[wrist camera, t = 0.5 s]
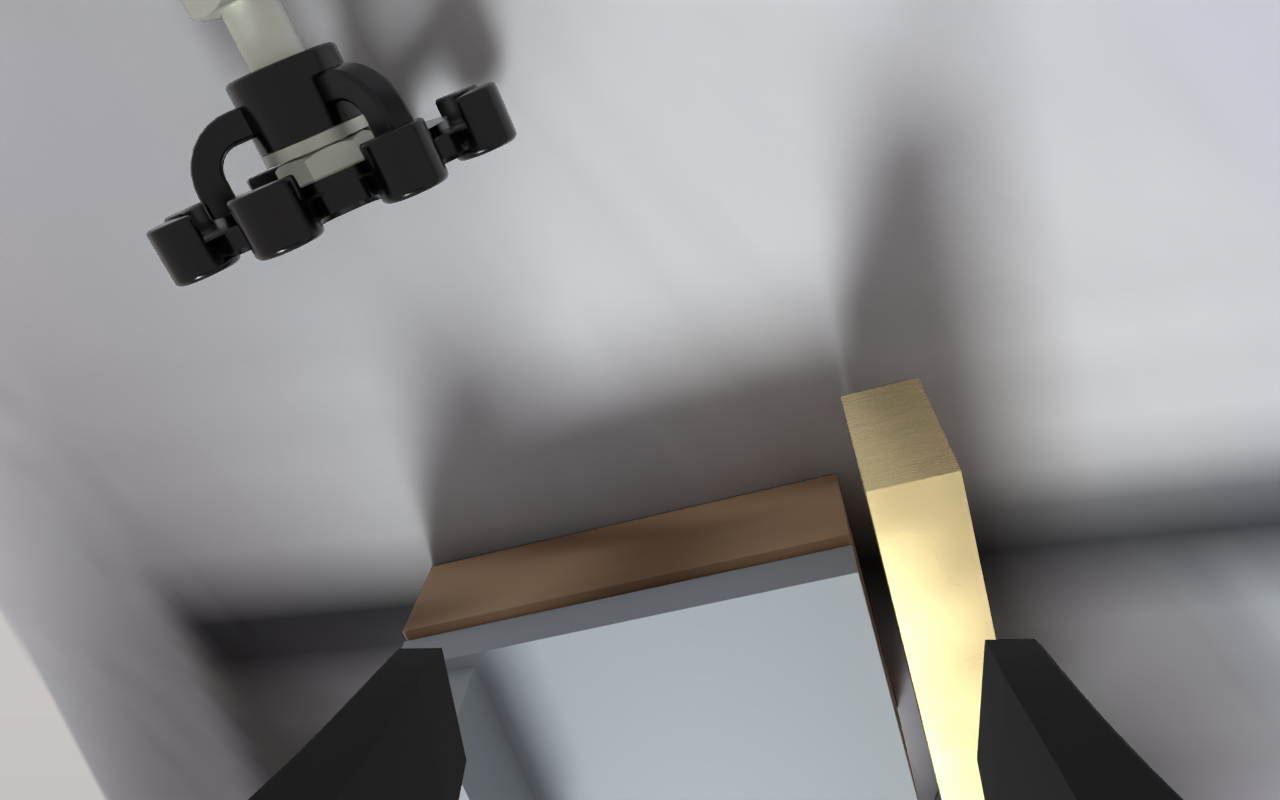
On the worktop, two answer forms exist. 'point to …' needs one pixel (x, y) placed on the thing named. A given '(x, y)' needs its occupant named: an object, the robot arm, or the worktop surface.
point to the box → (637, 558)
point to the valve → (310, 144)
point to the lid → (684, 693)
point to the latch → (927, 569)
